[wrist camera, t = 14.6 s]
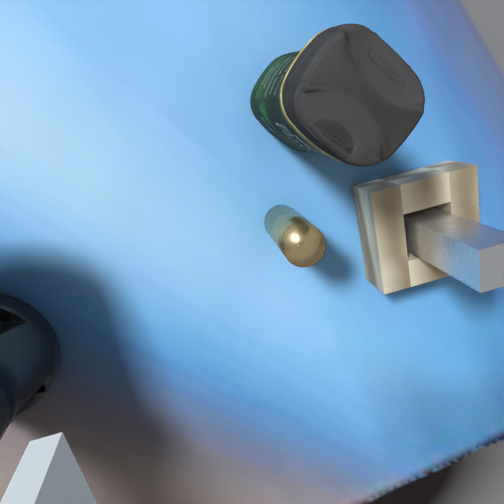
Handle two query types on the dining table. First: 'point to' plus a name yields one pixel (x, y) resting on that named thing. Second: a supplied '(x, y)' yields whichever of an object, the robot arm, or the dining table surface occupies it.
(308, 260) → the round bit
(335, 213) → the dining table surface
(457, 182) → the socket block
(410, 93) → the coffee jar
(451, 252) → the square bit
